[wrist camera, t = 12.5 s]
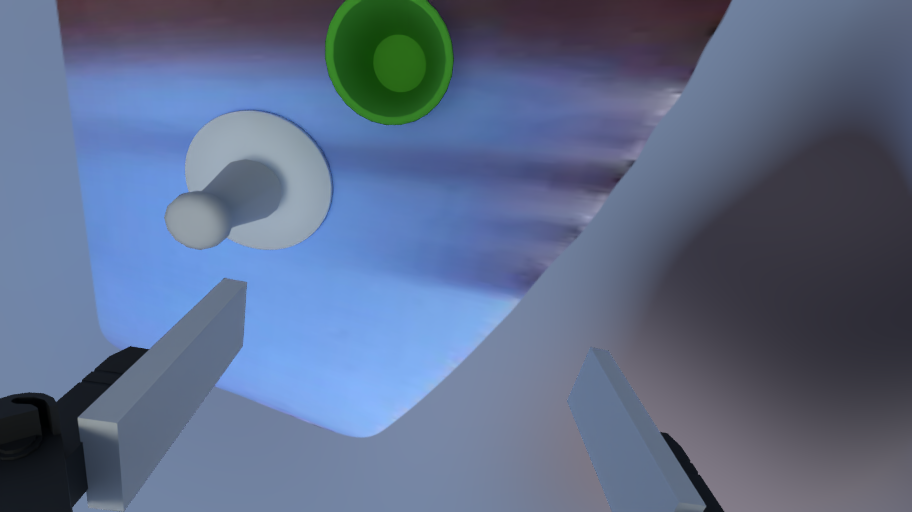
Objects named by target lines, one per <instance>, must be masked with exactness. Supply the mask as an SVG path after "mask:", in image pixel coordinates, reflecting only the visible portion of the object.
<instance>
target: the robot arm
mask: <svg viewBox="0 0 912 512" xmlns="http://www.w3.org/2000/svg"><path fill="white" fill-rule="evenodd" d="M246 289H247V282H243V281H238V280H233V279H227V278H224V279H223V280H222V281H221V282H220V283H219V284H218V285H217V286H215V287H214V288H213V289H212V290H211V291H210V292H209V293H208V294H207V295H206V296H205V297H204V298H203V299H202V300H201V301H200V302H199V303H198V304H197V305H195V306H194V307H193V308H192V309H191V310H190V311H189V312H188V313H187V314H186V315H185V316H184V317H183V318H182V319H181V320H180V321H179V322H178V323H177V324H176V325H174V326H173V327H172V328H171V329H170V330H169V331H168V332H167V333H166V334H165V335H164V336H163V337H162V338H161V339H160V340H159V341H158V342H157V343H156V344H154V345H153V346H152V347H151V348H150V349H144V348H138V347H131V346H130V347H128V348H126V349H124V350H122V351H120V352H118V353H115V354H113V355H111V356H109V357H108V358H107V359H106V360H105V361H104V362H102V363H101V364H100V365H99V366H98V367H97V368H95V370H94V372H91V373H90V374H88V375H87V376H86V377H85V378H84V379H83V380H82V382H81V383H78V384H77V385H76V386H74V388H72V389H71V390H70V391H69V392H67V393H66V394H65V395H64V396H63V397H62V398H60V399H59V400H58V401H57V402H56V401H55V400H54V398H53V397H50V396H48V395H46V394H43V393H30V392H29V393H22V394H14V395H10V396H7V397H4V398H0V512H73V511H72V507H73V506H74V505H75V504H76V502H77V501H78V500H79V499H80V498H81V496H82V495H83V494H84V493H85V492H87V501H88V508H95V509H104V510H113V511H121V512H124V511H125V510H126V508H127V507H128V505H129V504H130V503H131V501H132V500H133V498H134V497H135V496H136V494H137V493H138V491H139V490H140V488H141V487H142V486H143V484H144V483H145V481H146V480H147V478H148V477H149V476H150V475H151V473H152V472H153V470H154V469H155V468H156V466H157V465H158V463H159V462H160V461H161V459H162V458H163V457H164V455H165V454H166V452H167V451H168V449H169V448H170V447H171V445H172V444H173V443H174V441H175V440H176V438H177V437H178V436H179V434H180V433H181V431H182V430H183V429H184V427H185V426H186V424H187V423H188V422H189V420H190V419H191V418H192V416H193V415H194V413H195V412H196V410H197V409H198V408H199V406H200V405H201V403H202V402H203V401H204V399H205V398H206V397H207V395H208V394H209V392H210V391H211V390H212V388H213V387H214V385H215V384H216V383H217V381H218V380H219V378H220V377H221V376H222V374H223V373H224V372H225V370H226V369H227V367H228V366H229V365H230V363H231V362H232V360H233V359H234V358H235V356H236V355H237V353H238V352H239V351H240V349H241V348H242V346H243V335H244V320H245V305H246ZM567 402H568V404H569V407H570V409H571V412H572V414H573V417H574V419H575V422H576V424H577V426H578V429H579V432H580V434H581V436H582V439H583V441H584V444H585V446H586V449H587V451H588V454H589V456H590V459H591V461H592V464H593V466H594V469H595V471H596V474H597V476H598V478H599V481H600V483H601V486H602V488H603V491H604V493H605V496H606V498H607V501H608V503H609V506H610V508H611V511H612V512H724V511H723V509H722V508H721V506H720V505H719V503H718V502H717V500H716V498H715V497H714V496H713V494H712V493H711V491H710V490H709V488H708V486H707V485H706V484H705V482H704V480H703V479H702V478H701V476H700V475H698V471H697V470H696V468H695V467H694V465H693V464H692V463H690V459H689V458H688V456H687V455H686V453H685V452H684V450H683V449H682V447H681V446H680V445H679V444H678V443H677V442H676V441H675V440H673V438H672V437H671V436H669V435H668V434H667V433H662V432H659V430H658V428H657V427H656V425H655V424H654V422H653V421H652V419H651V417H650V416H649V414H648V413H647V411H646V410H645V408H644V406H643V405H642V403H641V402H640V400H639V398H638V397H637V395H636V394H635V392H634V390H633V389H632V387H631V386H630V384H629V383H628V381H627V379H626V378H625V376H624V375H623V373H622V372H621V370H620V368H619V367H618V365H617V364H616V362H615V360H614V359H613V357H612V356H611V354H610V352H609V351H608V350H603V349H598V348H592V347H590V349H589V352H588V354H587V356H586V359H585V361H584V363H583V366H582V368H581V370H580V373H579V375H578V377H577V379H576V382H575V384H574V386H573V388H572V391H571V393H570V395H569V398H568V400H567Z"/></svg>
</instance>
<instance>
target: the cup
mask: <svg viewBox="0 0 912 512" xmlns="http://www.w3.org/2000/svg"><path fill="white" fill-rule="evenodd" d="M325 60H326V64H327V69H328V74H329V77H330V79H331V81H332V83H333V85H334V88H335V90H336V91H337V93H338V94H339V95H340V97H341V98H342V99H343V101H344V102H345V103H346V104H347V105H348V106H349V107H350V108H351V109H352V110H354V111H355V112H356V113H357V114H359V115H360V116H362V117H364V118H366V119H368V120H370V121H372V122H376V123H380V124H384V125H402V124H406V123H410V122H414V121H416V120H418V119H420V118H421V117H423V116H425V115H427V114H428V113H429V112H430V111H431V110H432V109H433V108H435V107H436V106H437V105H438V104H439V102H440V101H441V99H442V97H443V96H444V94H445V93H446V91H447V89H448V86H449V83H450V80H451V77H452V71H453V62H454V56H453V47H452V41H451V38H450V35H449V32H448V29H447V26H446V24H445V23H444V21H443V19H442V18H441V16H440V15H439V13H438V11H437V10H436V9H435V8H434V7H433V6H432V5H431V4H430V3H429V2H428V1H427V0H346V1H345V2H344V3H343V4H342V5H341V6H340V7H339V8H338V9H337V11H336V13H335V15H334V17H333V19H332V21H331V22H330V24H329V28H328V32H327V37H326V41H325Z"/></svg>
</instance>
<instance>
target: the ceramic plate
mask: <svg viewBox="0 0 912 512" xmlns="http://www.w3.org/2000/svg"><path fill="white" fill-rule="evenodd" d="M244 159H247V160H252V161H257V162H261V163H262V164H264V165H265V166H266V167H268V168H269V169H270V170H272V171H273V173H274V174H275V176H276V177H277V179H278V180H279V181H280V183H281V192H282V197H281V200H280V203H279V206H278V208H277V210H276V211H274V212H273V213H272V214H271V215H270V216H268V217H267V218H263V219H260V220H256V221H253V222H249V223H246V224H242V225H239V226H236V227H233V228H231V231H230V234H229V236H228V237H227V238H228V239H230V240H232V241H234V242H236V243H239V244H241V245H244V246H247V247H250V248H256V249H264V250H276V249H282V248H287V247H290V246H294V245H296V244H298V243H300V242H302V241H303V240H305V239H307V238H308V237H309V236H310V235H312V234H313V233H314V232H315V231H316V229H317V228H318V227H319V226H320V225H321V223H322V222H323V220H324V219H325V217H326V215H327V213H328V211H329V209H330V205H331V202H332V195H333V182H332V175H331V171H330V168H329V165H328V162H327V160H326V158H325V156H324V154H323V152H322V150H321V149H320V147H319V146H318V145H317V143H316V142H315V141H314V140H313V139H312V138H311V136H310V135H309V134H308V133H306V132H305V131H304V130H303V129H302V128H301V127H299V126H298V125H296V124H295V123H293V122H292V121H290V120H288V119H286V118H284V117H282V116H279V115H276V114H273V113H269V112H265V111H257V110H244V111H237V112H232V113H227V114H224V115H221V116H219V117H217V118H215V119H213V120H211V121H210V122H209V123H207V124H206V125H205V126H204V127H203V128H202V129H201V130H200V131H199V132H198V133H197V134H196V136H195V137H194V138H193V140H192V142H191V144H190V146H189V149H188V152H187V156H186V162H185V176H186V183H187V187H188V191H189V192H193V191H202V190H203V189H204V188H205V187H206V186H207V185H208V184H209V183H210V182H211V181H212V180H213V179H214V178H215V177H216V176H217V175H218V174H219V173H220V172H221V171H222V170H223V169H224V168H225V167H226V166H227V165H228V164H229V163H230V162H234V161H239V160H244Z"/></svg>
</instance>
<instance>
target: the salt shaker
mask: <svg viewBox="0 0 912 512" xmlns="http://www.w3.org/2000/svg"><path fill="white" fill-rule="evenodd" d="M281 197H282V192H281V183H280V181H279V180H278V179H277V177H276V176H275V174H274V173H273V171H272V170H270V169H269V168H268V167H266V166H265V165H264V164H262V163H261V162H257V161H252V160H247V159H244V160H239V161H234V162H230V163H229V164H228V165H227V166H226V167H225V168H224V169H223V170H222V171H221V172H220V173H219V174H218V175H217V176H216V177H215V178H214V179H213V180H212V181H211V182H210V183H209V184H208V185H207V186H206V187H205V188H204V189H203V190H202V191H193V192H188V193H184V194H181V195H179V196H178V197H177V198H176V199H175V200H174V201H173V202H172V203H170V204H169V205H168V206H167V210H166V213H165V217H164V218H165V222H166V226H167V229H168V231H169V232H170V233H171V235H172V236H173V237H174V239H175V240H176V241H178V242H180V243H181V244H183V245H185V246H186V247H189V248H194V249H199V250H202V249H206V248H211V247H214V246H217V245H218V244H219V243H221V242H222V241H223V240H224V239H226V238H227V237H228V236H229V234H230V231H231V228H233V227H236V226H239V225H242V224H246V223H249V222H253V221H256V220H260V219H263V218H267V217H268V216H270V215H271V214H272V213H273V212H274V211H276V210H277V208H278V206H279V203H280V200H281Z"/></svg>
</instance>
